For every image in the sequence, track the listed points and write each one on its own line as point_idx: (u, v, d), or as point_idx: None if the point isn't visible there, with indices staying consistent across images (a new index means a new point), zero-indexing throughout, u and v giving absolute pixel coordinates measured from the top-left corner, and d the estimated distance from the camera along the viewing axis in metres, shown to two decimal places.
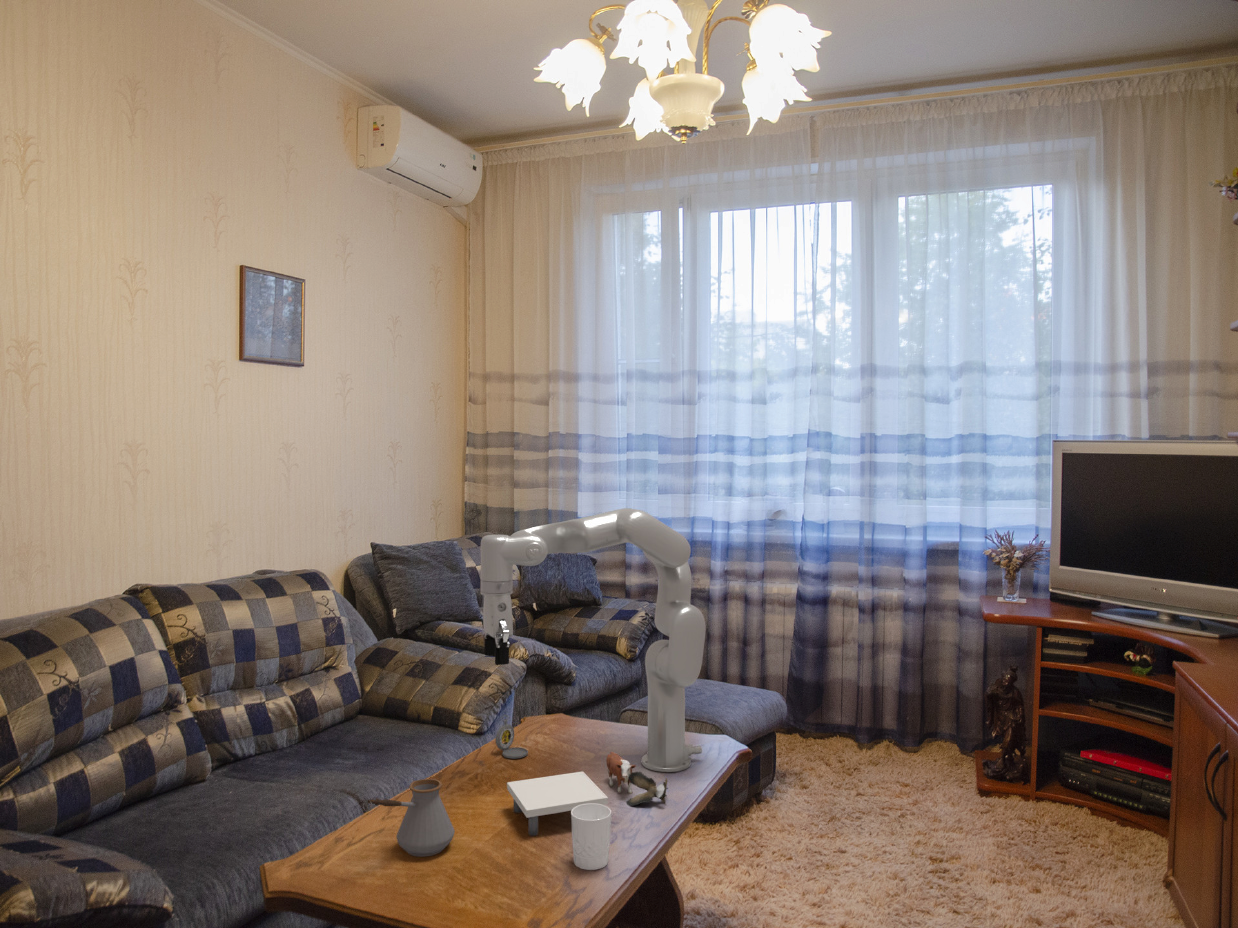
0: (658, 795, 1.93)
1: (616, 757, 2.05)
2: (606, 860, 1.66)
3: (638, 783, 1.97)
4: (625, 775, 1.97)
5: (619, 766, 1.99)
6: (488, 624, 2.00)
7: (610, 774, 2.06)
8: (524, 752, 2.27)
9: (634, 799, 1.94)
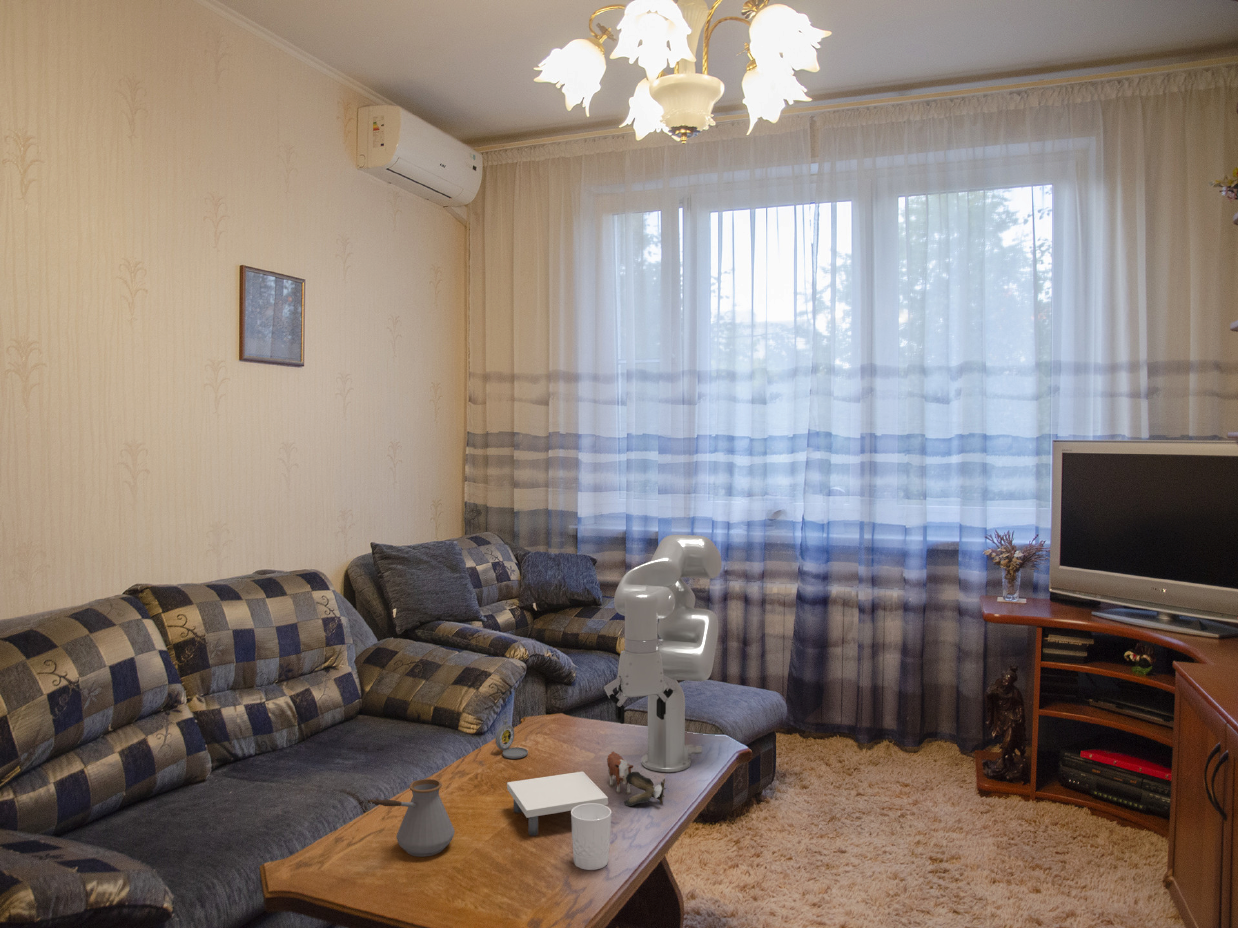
0: (655, 795, 1.93)
1: (616, 757, 2.05)
2: (606, 860, 1.66)
3: (636, 783, 1.97)
4: (622, 775, 1.97)
5: (617, 766, 1.99)
6: (650, 684, 1.94)
7: (610, 774, 2.07)
8: (524, 752, 2.27)
9: (632, 799, 1.94)
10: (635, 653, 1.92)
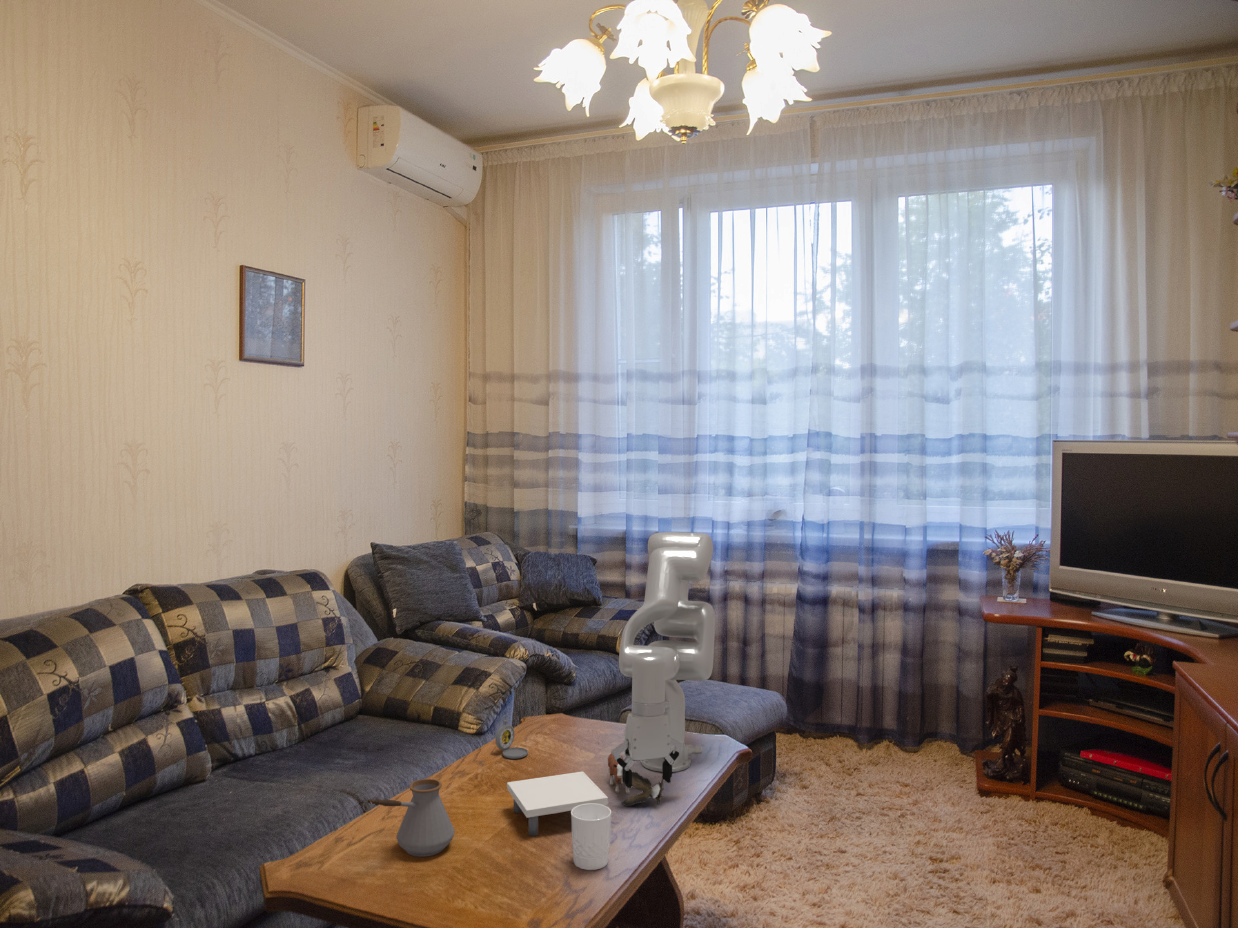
0: (653, 796, 1.93)
1: None
2: (606, 860, 1.66)
3: (634, 783, 1.97)
4: (620, 775, 1.97)
5: (615, 766, 1.99)
6: (657, 747, 1.94)
7: (611, 773, 2.07)
8: (524, 752, 2.27)
9: (629, 799, 1.94)
10: (643, 716, 1.92)
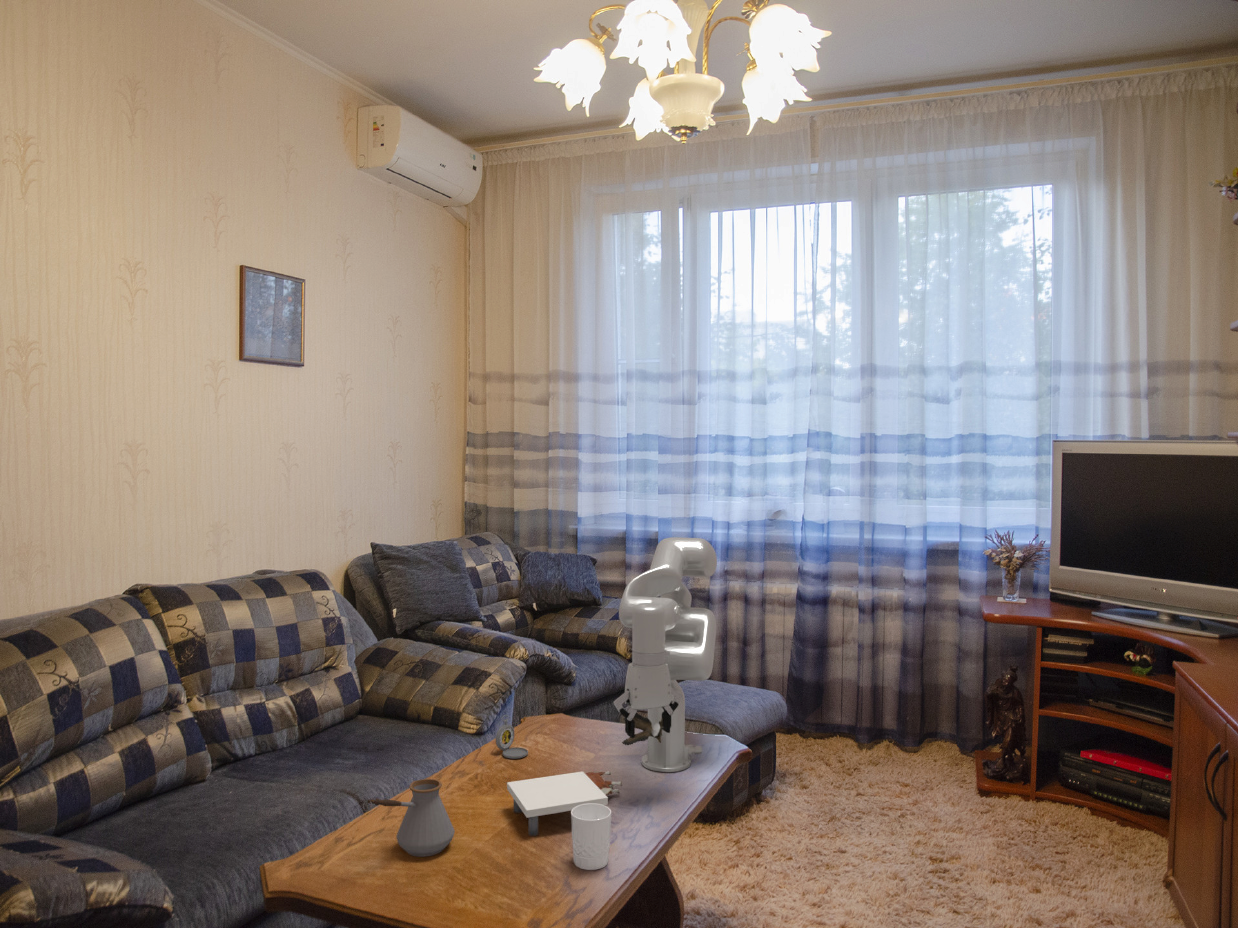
0: (654, 734, 1.93)
1: None
2: (606, 860, 1.66)
3: None
4: None
5: None
6: (658, 696, 1.94)
7: None
8: (524, 752, 2.27)
9: (630, 739, 1.94)
10: (644, 666, 1.92)
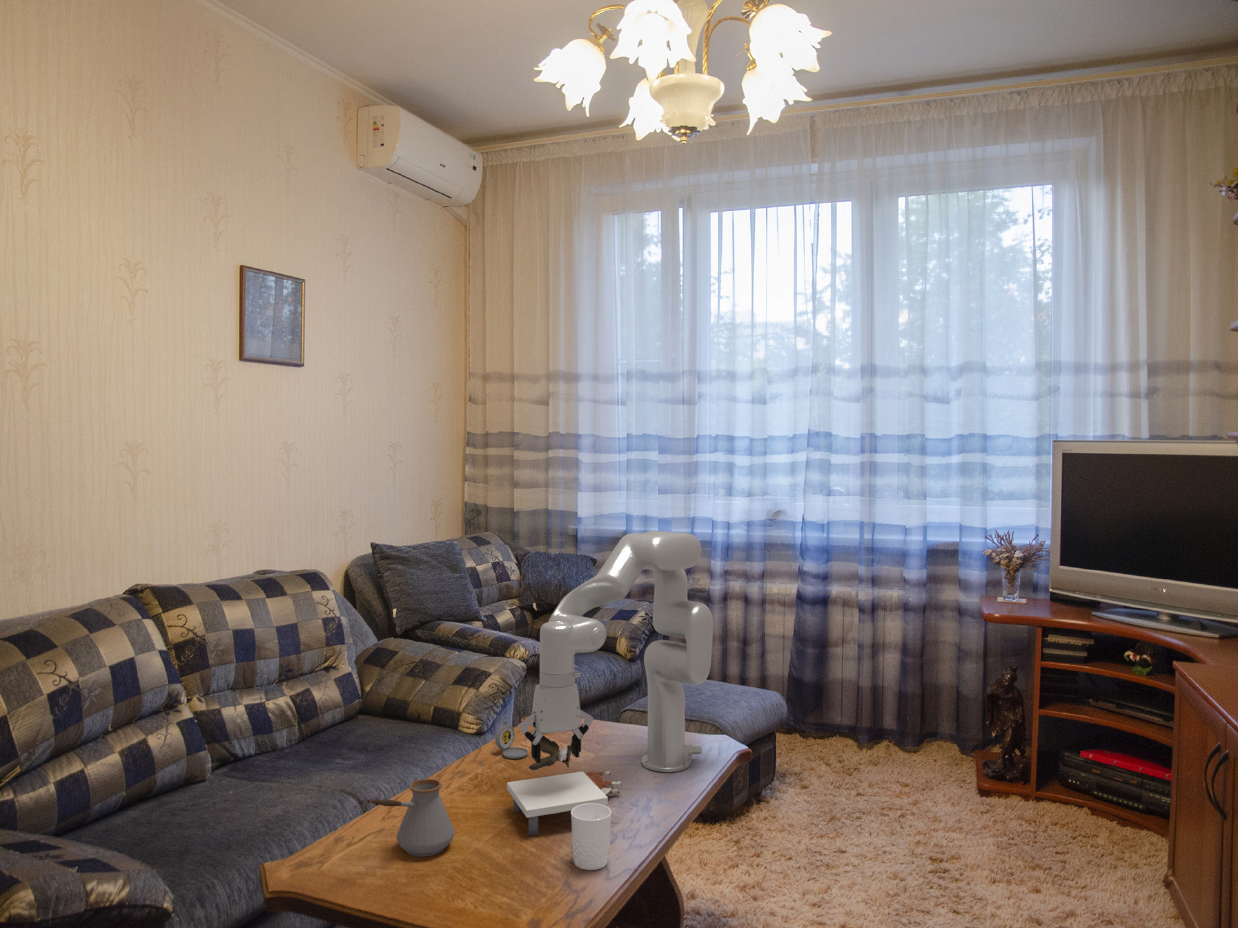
0: (560, 759, 1.84)
1: None
2: (606, 860, 1.66)
3: (541, 747, 1.88)
4: None
5: None
6: (566, 719, 1.86)
7: None
8: (524, 752, 2.27)
9: (536, 763, 1.86)
10: (550, 687, 1.84)
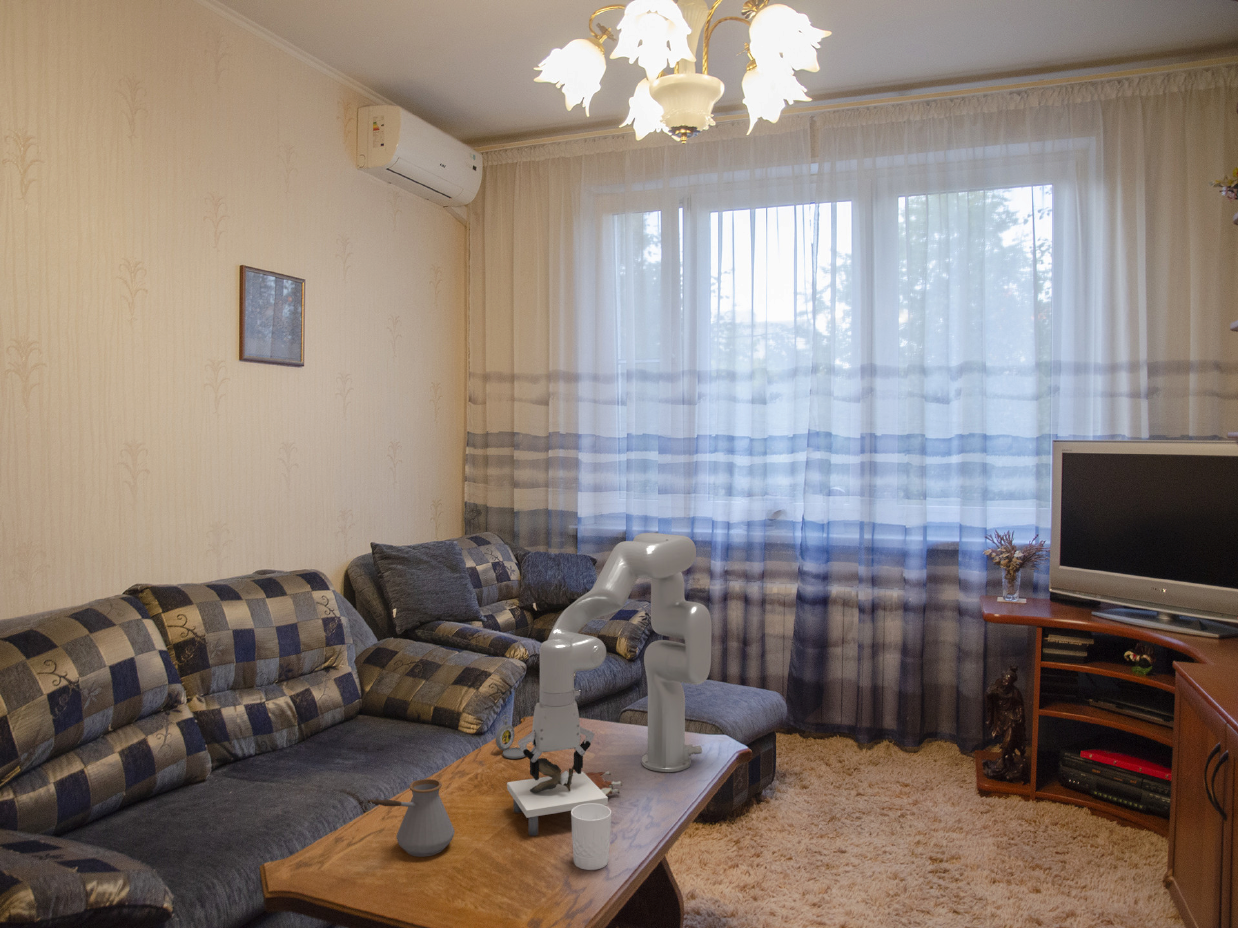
0: (562, 782, 1.85)
1: None
2: (606, 860, 1.66)
3: (543, 770, 1.88)
4: None
5: None
6: (566, 737, 1.86)
7: None
8: None
9: (538, 786, 1.86)
10: (550, 706, 1.84)
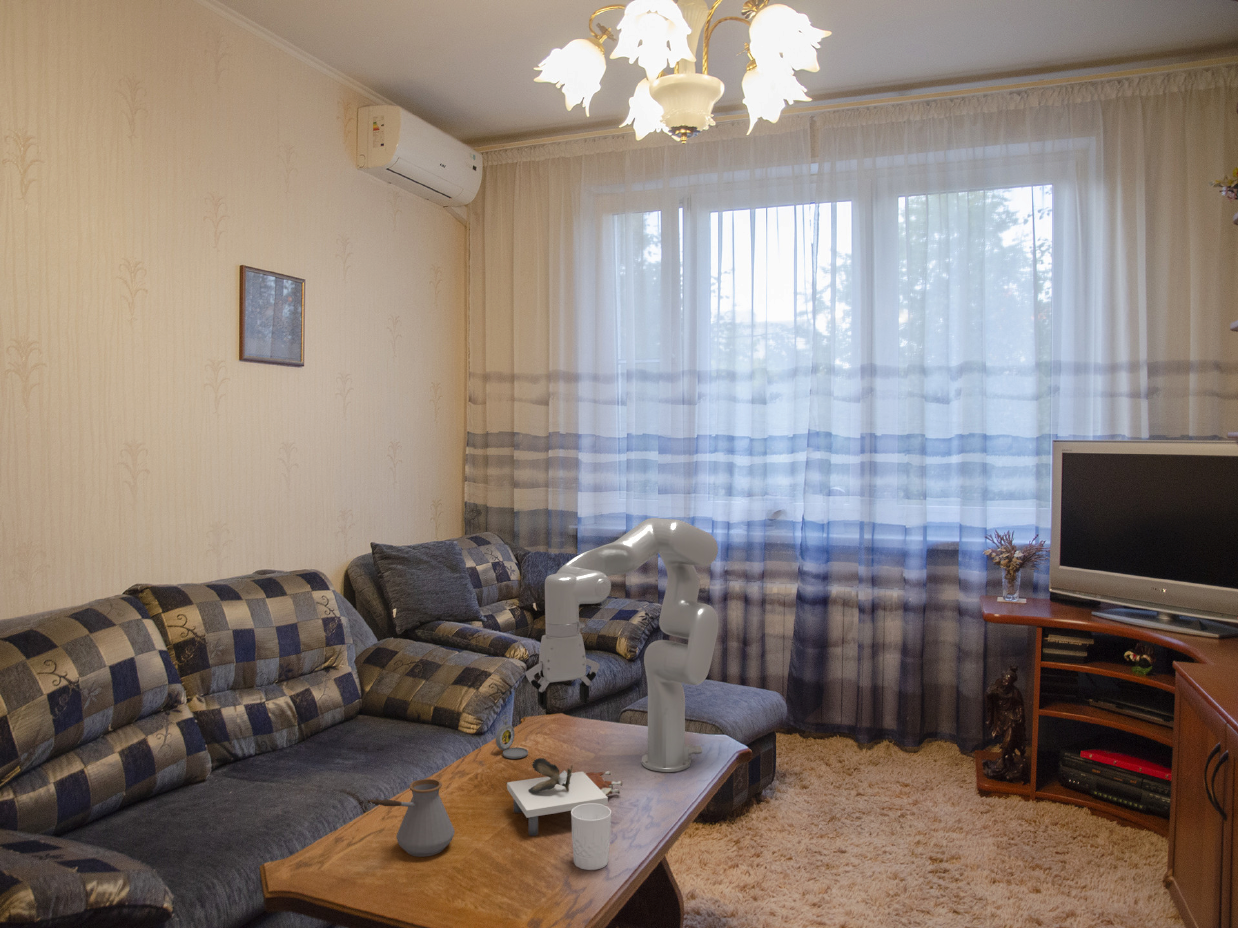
0: (560, 782, 1.85)
1: None
2: (606, 860, 1.66)
3: (541, 770, 1.88)
4: None
5: None
6: (572, 667, 1.91)
7: None
8: (524, 752, 2.27)
9: (536, 787, 1.86)
10: (556, 637, 1.88)
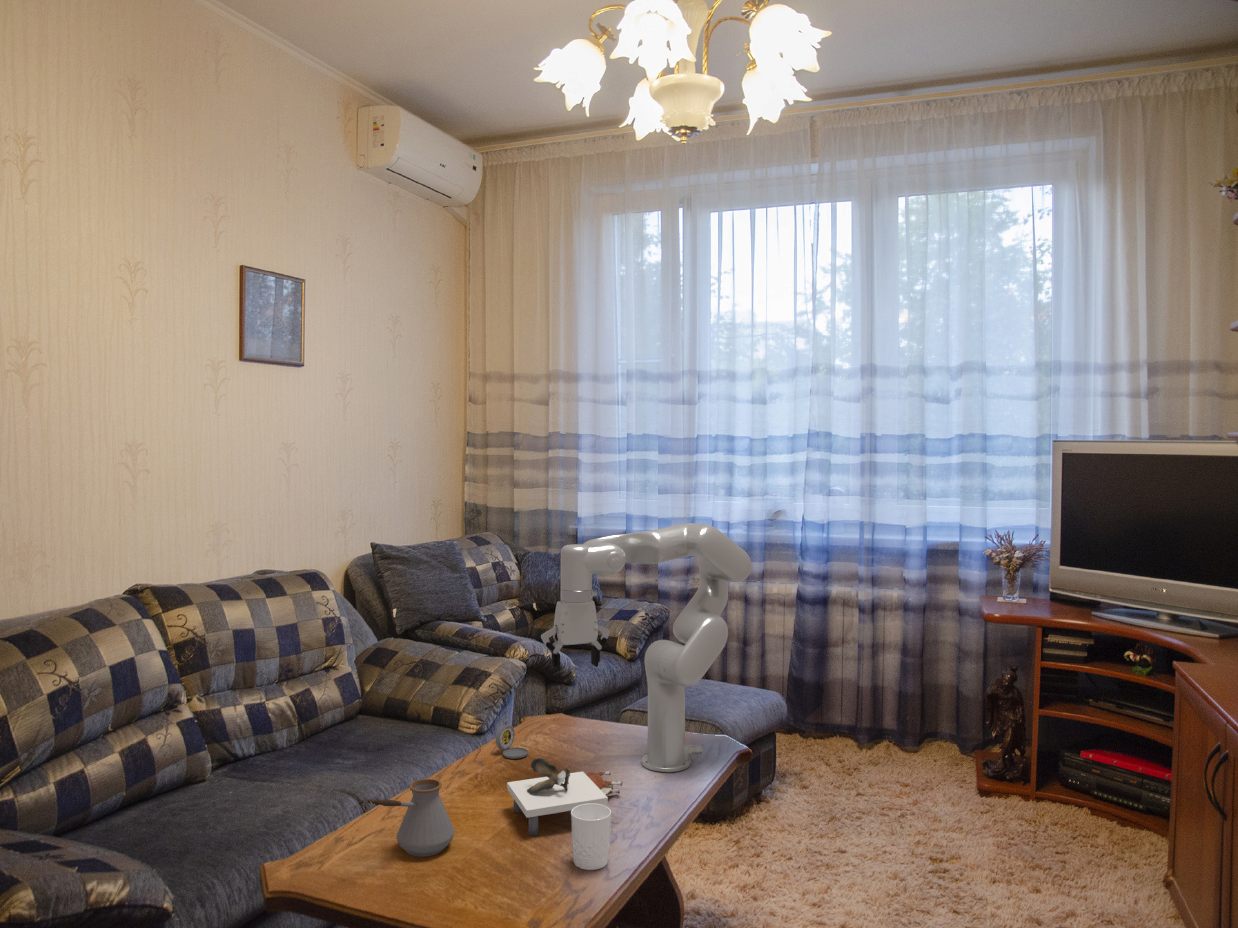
0: (559, 782, 1.85)
1: None
2: (606, 860, 1.66)
3: (540, 770, 1.88)
4: None
5: None
6: (585, 632, 2.04)
7: None
8: (524, 752, 2.27)
9: (535, 787, 1.86)
10: (570, 603, 2.02)
